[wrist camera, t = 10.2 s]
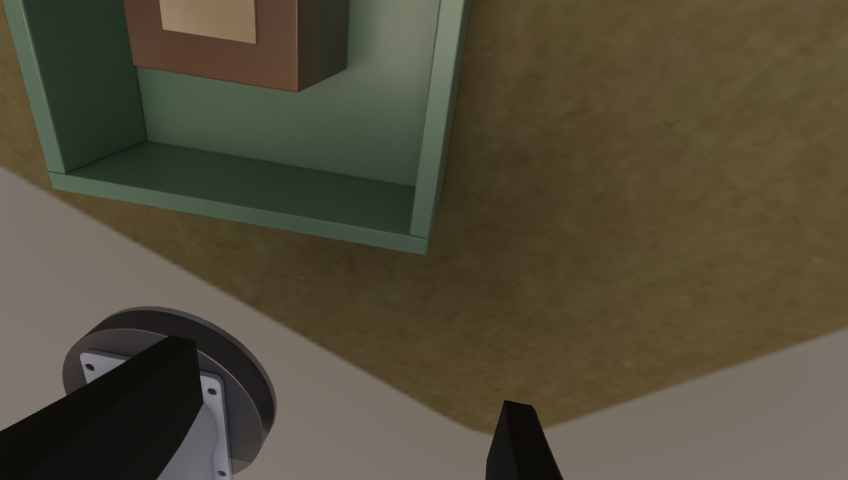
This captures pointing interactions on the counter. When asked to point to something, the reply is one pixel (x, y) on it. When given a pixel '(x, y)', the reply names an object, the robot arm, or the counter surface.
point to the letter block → (241, 39)
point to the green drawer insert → (253, 123)
